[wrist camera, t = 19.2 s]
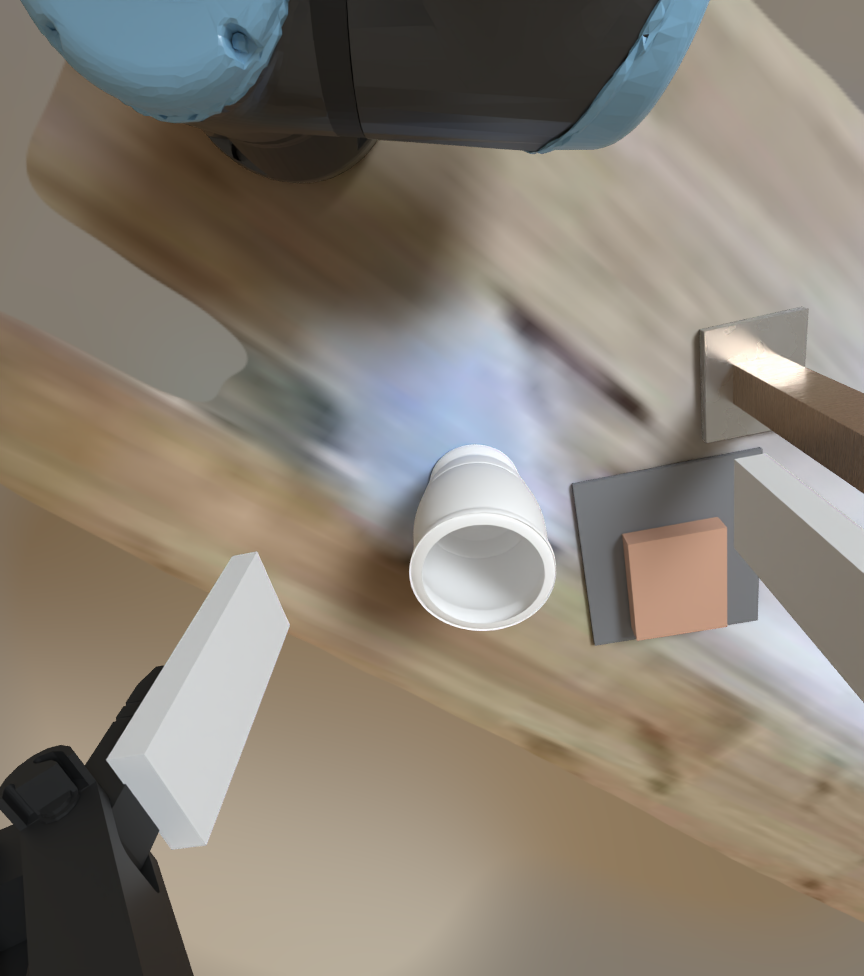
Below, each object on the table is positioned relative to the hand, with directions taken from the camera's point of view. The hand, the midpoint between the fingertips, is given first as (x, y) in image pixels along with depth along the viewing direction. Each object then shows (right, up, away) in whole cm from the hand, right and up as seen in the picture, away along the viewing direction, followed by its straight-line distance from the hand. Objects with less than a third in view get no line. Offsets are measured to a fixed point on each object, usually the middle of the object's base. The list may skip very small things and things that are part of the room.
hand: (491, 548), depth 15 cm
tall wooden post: (+26, +11, +32) cm, 43 cm away
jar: (+2, +2, +38) cm, 38 cm away
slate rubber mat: (+22, -5, +41) cm, 47 cm away
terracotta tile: (+21, -2, +38) cm, 43 cm away
